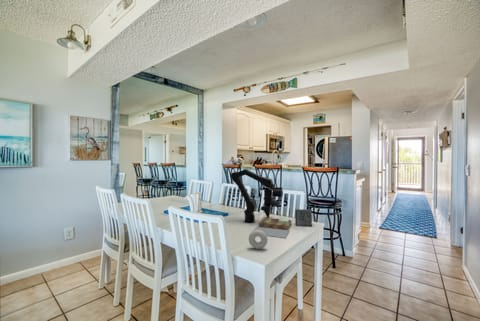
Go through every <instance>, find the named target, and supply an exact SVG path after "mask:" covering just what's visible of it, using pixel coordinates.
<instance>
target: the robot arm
mask: <svg viewBox="0 0 480 321" xmlns="http://www.w3.org/2000/svg"><path fill="white" fill-rule="evenodd" d="M243 176H247V177H248V178H251V179H253V180H255V181H257V182H259V183H260V184H261V185H262V186H263V187H262V188H261V191H263V198H262V199H263V205H262V206H261V207H260V211H261V212H262V211H263V212H264V213H265V217H271V216H270V215H271V211H272V210H273V209H274V207H276V208H277V209H278V208H279V207H280V205H281V201H280V199H274V198H275V197H276V198H283V197H284V190H283V187H282V186H281V187H277V186H276V185H275V184H274V182H273V179H272V178H268V177H266V176H261V175H259V174H258V173H256V172H253V171H251V170H249V169H247V168H244V169H242V170H240V171H233V172H231V174H230V179H231V180H232V181H233V182H234V183H235V184H236V186H237V188H238V189H239V192H240V193H241V195H242V197H243V199H244V201H245V202H244V203H245V207H246V209H245V210H244V211H243V213H244V221H243V222H244V223H249V224H253V223H255V221H256V215H255V212H256V210H257V209H258V204H257V202H256V200H255V199H252V198H251V196H250V194H249V193H248V190H247V188H246V186H245V184H244V182H243ZM273 196H274V197H273Z"/></svg>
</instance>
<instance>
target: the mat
mask: <svg viewBox="0 0 480 321" xmlns="http://www.w3.org/2000/svg"><path fill="white" fill-rule="evenodd" d="M254 230H261V231H263V232H264V233H265V234H266V235H267V237H271V238H280V239H287V237H288V235H289V234H290V229H289V230H281V229H272V228H264V227H259V226H256V227H255V228H254V229H253V230H252V231H254Z"/></svg>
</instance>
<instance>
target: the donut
mask: <svg viewBox="0 0 480 321" xmlns="http://www.w3.org/2000/svg"><path fill="white" fill-rule="evenodd" d="M253 230H254V229H253ZM253 230H252V231H251V232H250V233H249V236H248V243H249V245H250V246H251V247H253V248H254V249H256V250H261V249H264V248H265V247H266V246H267V244H268V240H269V239H268V236H267V235H266V234H265V233H264V232H263V231H261V230H254V231H253ZM257 237H259V238H260V241H257V240H256V238H257Z"/></svg>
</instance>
